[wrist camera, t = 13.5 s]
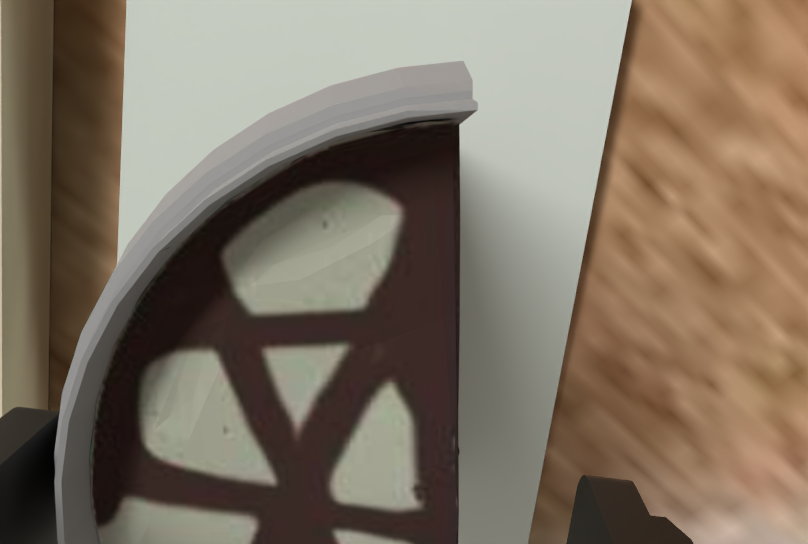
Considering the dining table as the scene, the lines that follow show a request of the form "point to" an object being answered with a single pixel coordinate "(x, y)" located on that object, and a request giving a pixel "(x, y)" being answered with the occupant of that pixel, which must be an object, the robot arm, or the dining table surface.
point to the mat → (479, 172)
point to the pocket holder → (25, 201)
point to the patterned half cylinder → (284, 336)
